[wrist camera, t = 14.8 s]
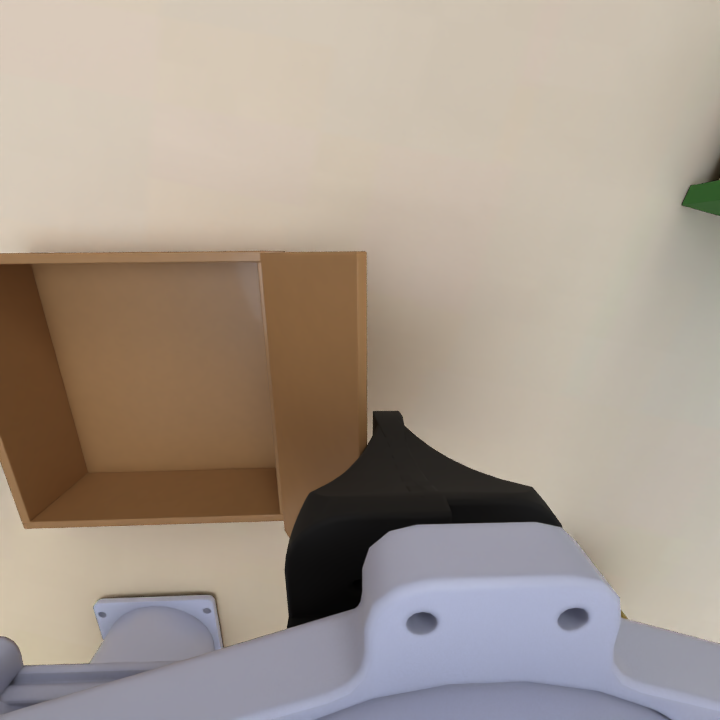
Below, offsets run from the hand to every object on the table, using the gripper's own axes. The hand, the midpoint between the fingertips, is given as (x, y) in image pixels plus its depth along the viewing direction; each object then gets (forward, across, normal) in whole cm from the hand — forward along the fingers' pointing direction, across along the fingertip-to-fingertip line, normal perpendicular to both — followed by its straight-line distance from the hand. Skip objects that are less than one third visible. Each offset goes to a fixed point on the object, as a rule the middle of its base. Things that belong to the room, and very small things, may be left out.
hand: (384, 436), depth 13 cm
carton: (+8, +11, 0) cm, 13 cm away
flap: (0, +3, 0) cm, 3 cm away
